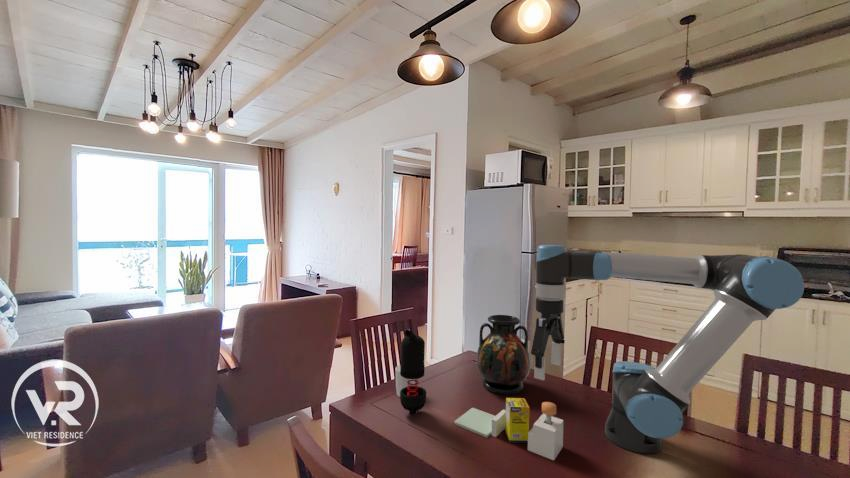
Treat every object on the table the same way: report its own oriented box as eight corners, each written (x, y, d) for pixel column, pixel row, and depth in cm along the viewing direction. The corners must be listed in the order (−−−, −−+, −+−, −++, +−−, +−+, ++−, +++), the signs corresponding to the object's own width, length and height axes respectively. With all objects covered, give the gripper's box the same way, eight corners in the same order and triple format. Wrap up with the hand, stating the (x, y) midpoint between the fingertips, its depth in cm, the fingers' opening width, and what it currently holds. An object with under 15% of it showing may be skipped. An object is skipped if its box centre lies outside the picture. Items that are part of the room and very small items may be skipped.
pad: (504, 421, 118) (504, 419, 118) (486, 437, 108) (486, 435, 108) (472, 409, 125) (472, 407, 125) (453, 424, 115) (453, 421, 115)
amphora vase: (473, 395, 136) (474, 322, 135) (477, 373, 157) (478, 310, 156) (531, 402, 131) (533, 327, 130) (528, 378, 152) (529, 313, 151)
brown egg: (557, 426, 103) (558, 404, 103) (553, 432, 100) (553, 410, 100) (543, 422, 105) (544, 400, 105) (539, 427, 102) (539, 405, 102)
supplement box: (529, 443, 106) (530, 407, 105) (509, 443, 106) (509, 406, 105) (523, 432, 111) (524, 397, 111) (504, 431, 112) (505, 397, 111)
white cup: (419, 392, 137) (419, 367, 137) (407, 400, 131) (408, 374, 130) (403, 387, 141) (403, 362, 141) (390, 395, 135) (391, 369, 135)
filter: (419, 424, 115) (420, 332, 114) (393, 418, 118) (395, 329, 118) (433, 405, 128) (434, 322, 127) (409, 400, 131) (411, 319, 130)
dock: (562, 446, 104) (563, 420, 104) (553, 460, 98) (554, 432, 98) (502, 424, 116) (503, 400, 115) (491, 435, 109) (492, 409, 109)
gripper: (551, 291, 114) (550, 356, 115) (519, 303, 95) (517, 381, 95) (575, 294, 110) (574, 362, 110) (547, 307, 90) (545, 389, 91)
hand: (548, 371), depth 103 cm, fingers open, 13 cm apart
